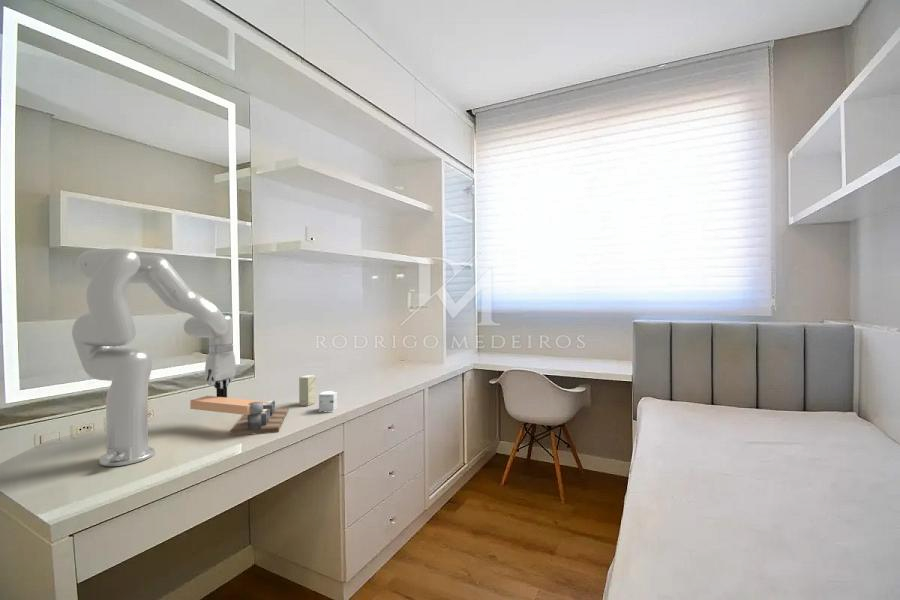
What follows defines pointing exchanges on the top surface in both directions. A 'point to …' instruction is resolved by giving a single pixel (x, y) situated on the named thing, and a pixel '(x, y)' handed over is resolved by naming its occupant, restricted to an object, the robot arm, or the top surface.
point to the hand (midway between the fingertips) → (221, 398)
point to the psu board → (268, 428)
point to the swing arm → (227, 405)
